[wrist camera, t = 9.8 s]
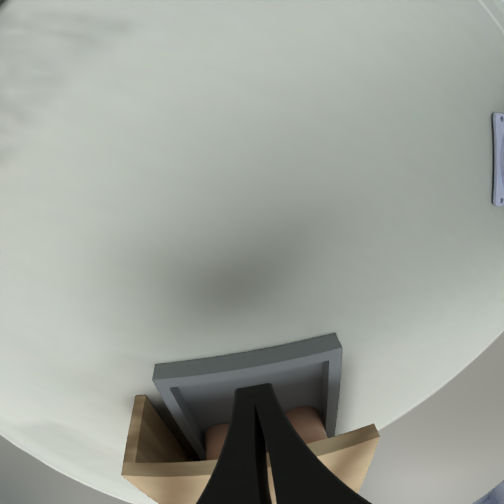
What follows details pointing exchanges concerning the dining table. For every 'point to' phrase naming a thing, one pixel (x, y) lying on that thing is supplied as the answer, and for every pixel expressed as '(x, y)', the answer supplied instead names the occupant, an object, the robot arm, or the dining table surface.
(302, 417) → the pink round cylinder
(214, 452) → the peg
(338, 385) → the tray
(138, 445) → the wooden l-shaped bracket
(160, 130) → the dining table surface
